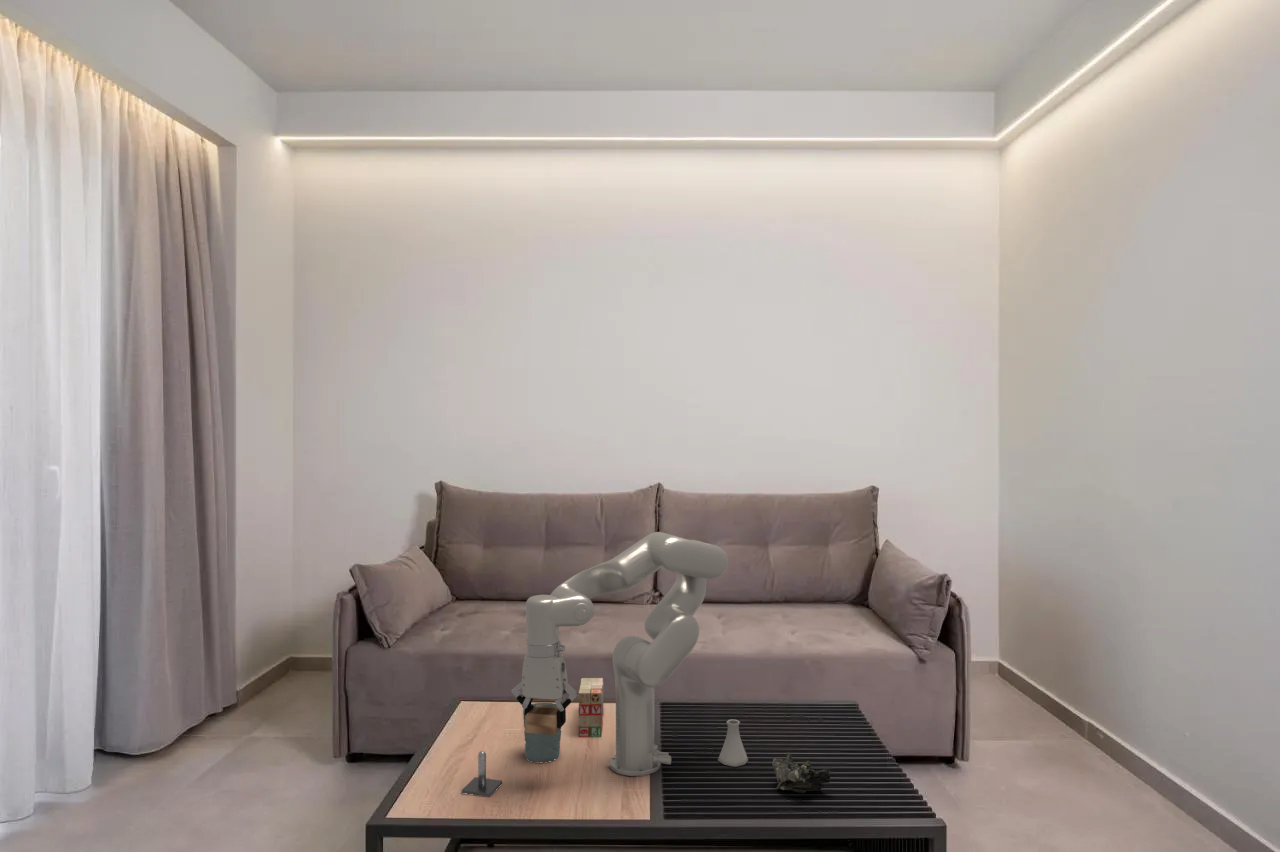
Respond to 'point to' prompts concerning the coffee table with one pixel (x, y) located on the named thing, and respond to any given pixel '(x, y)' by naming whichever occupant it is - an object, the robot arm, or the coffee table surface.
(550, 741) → the teal cup
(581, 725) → the stack of blocks
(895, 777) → the coffee table surface
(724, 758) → the flask
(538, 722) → the square wooden ring
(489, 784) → the peg stand
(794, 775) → the mineral specimen
